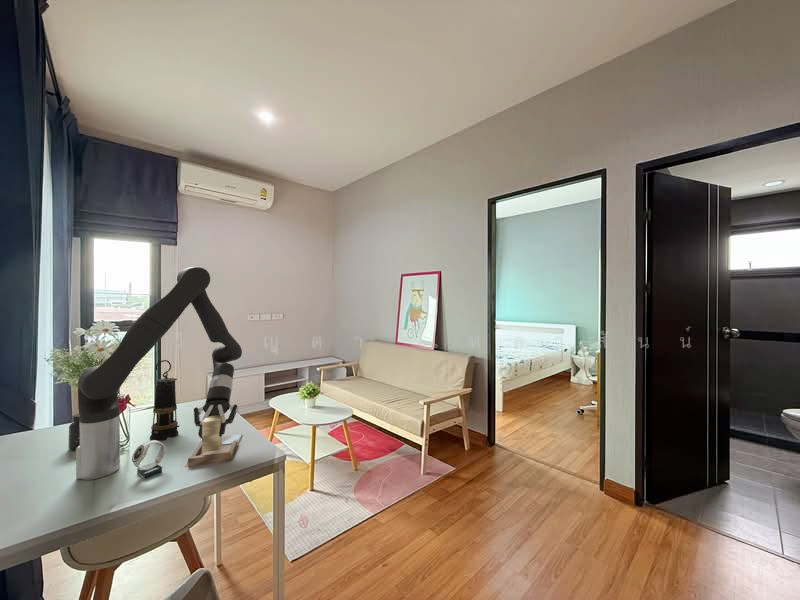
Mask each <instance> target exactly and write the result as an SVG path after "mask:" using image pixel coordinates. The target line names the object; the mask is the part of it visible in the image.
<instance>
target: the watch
mask: <svg viewBox="0 0 800 600" xmlns="http://www.w3.org/2000/svg"><path fill="white" fill-rule="evenodd" d="M153 444H158V445H159V444H160V450H159V451H158V454H157V456H156V458H155V460H154V461H153V462H150V463H148V464H145V465H142V466H140V464H141V463H142V462H143V460H144V459H145V458H146V456H147V455H148V451H149V448H150V447H151V445H153ZM166 452H167V451H166V446H165V444H164V443H162V441H156V440H148V441H145V442H144V443H142V444H140V445H139V446H138V447H137V448H136V449H135V450H134V452H133V454H132V457H131V461H132V464H133V465H134V466H135V468H136V469H137V475H138V476H139V477H141V478H143V479H144V480H147V479H150V478H152V477H154V476H156V475H159V474H163V466H161V465H159V464H161V462H162V460H163V458H164V456H165V455H166V454H165V453H166Z"/></svg>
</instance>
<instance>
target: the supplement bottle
mask: <svg viewBox="0 0 800 600" xmlns="http://www.w3.org/2000/svg"><path fill="white" fill-rule="evenodd" d="M78 446H80V418H79V413H76V414H74V415H72V422H71V423H70V424H69V426H68V450H69V451H71V452H72V451H73V452H76V448H77V447H78Z"/></svg>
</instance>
